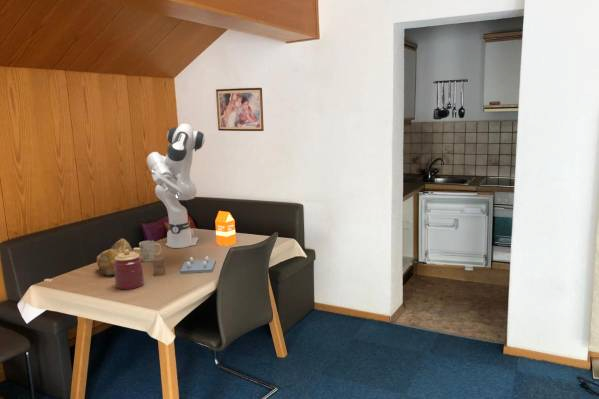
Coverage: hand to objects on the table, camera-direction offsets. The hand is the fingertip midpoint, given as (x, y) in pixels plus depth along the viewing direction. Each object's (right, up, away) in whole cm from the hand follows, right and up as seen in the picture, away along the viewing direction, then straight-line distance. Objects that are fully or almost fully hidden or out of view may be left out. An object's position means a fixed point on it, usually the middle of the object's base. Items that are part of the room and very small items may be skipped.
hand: (172, 194), depth 255 cm
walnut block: (-7, -40, +1) cm, 41 cm away
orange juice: (+19, -30, +53) cm, 64 cm away
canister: (-17, -43, -14) cm, 49 cm away
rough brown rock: (-34, -40, +11) cm, 53 cm away
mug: (-18, -36, +27) cm, 49 cm away
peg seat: (+11, -38, +8) cm, 40 cm away
